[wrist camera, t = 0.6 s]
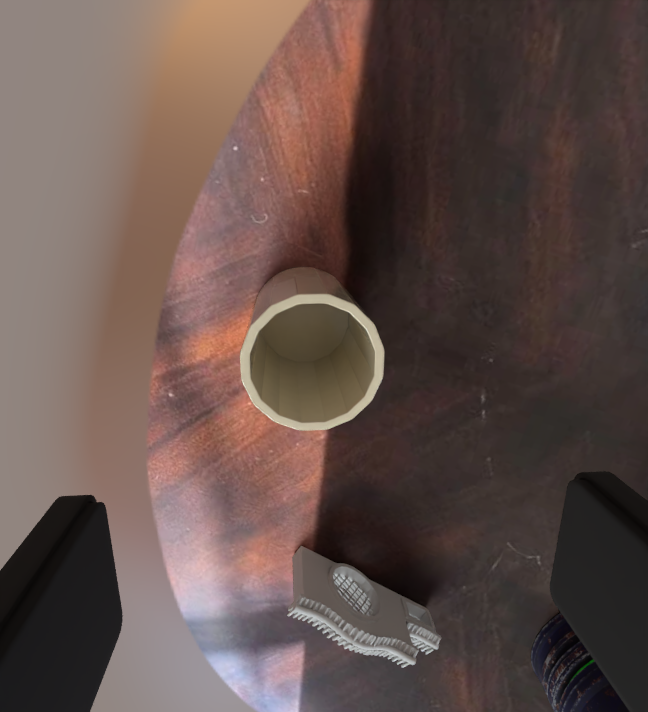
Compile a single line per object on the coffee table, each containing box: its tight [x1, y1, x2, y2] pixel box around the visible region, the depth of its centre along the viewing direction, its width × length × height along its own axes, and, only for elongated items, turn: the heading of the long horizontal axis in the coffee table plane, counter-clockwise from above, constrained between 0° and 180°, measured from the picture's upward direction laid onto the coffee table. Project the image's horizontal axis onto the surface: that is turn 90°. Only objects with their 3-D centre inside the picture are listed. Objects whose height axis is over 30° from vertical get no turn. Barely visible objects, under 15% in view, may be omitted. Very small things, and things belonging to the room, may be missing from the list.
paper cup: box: [240, 267, 384, 431], centre depth 24 cm, size 6×6×9 cm
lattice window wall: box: [287, 546, 441, 668], centre depth 32 cm, size 12×2×6 cm, turn 56°
